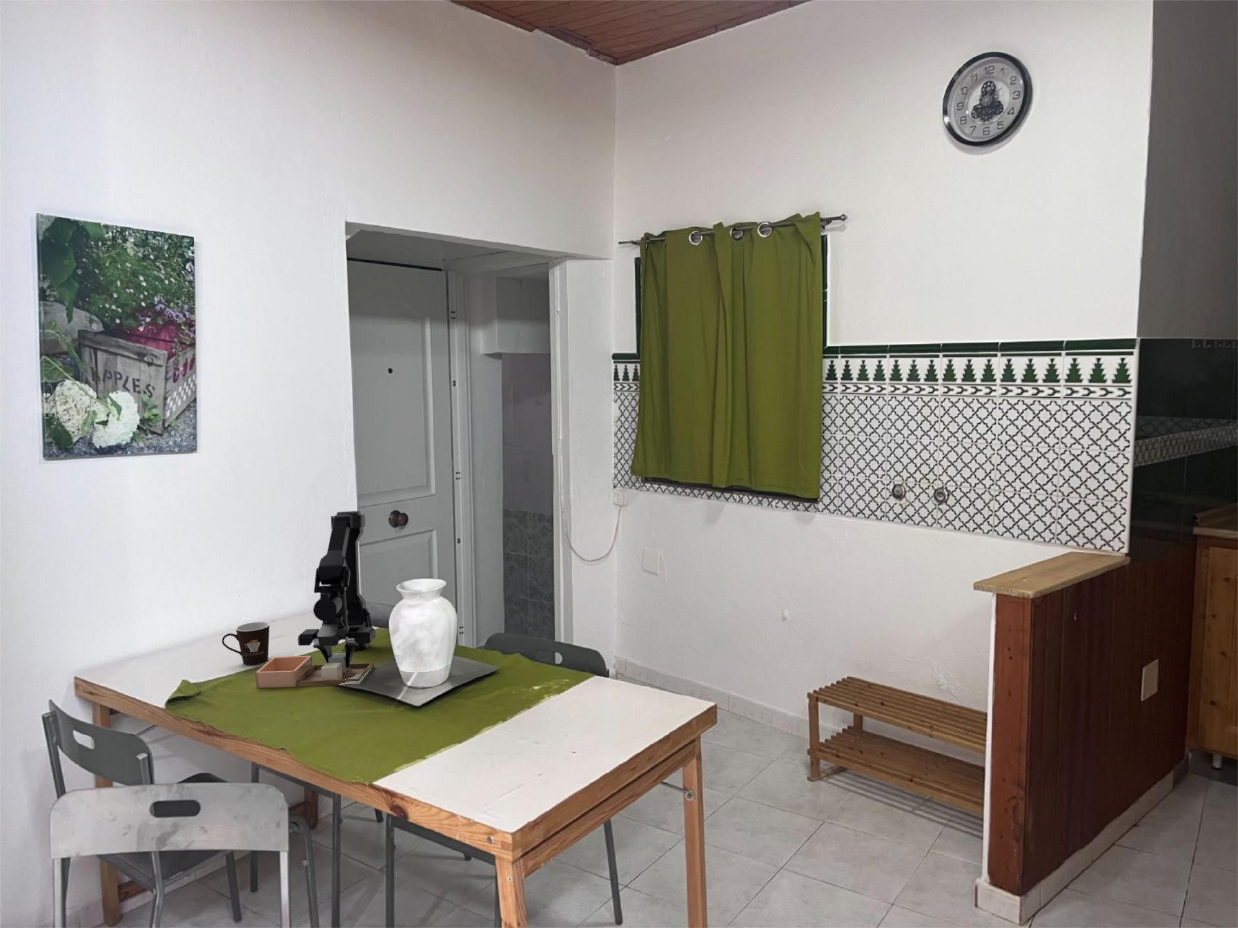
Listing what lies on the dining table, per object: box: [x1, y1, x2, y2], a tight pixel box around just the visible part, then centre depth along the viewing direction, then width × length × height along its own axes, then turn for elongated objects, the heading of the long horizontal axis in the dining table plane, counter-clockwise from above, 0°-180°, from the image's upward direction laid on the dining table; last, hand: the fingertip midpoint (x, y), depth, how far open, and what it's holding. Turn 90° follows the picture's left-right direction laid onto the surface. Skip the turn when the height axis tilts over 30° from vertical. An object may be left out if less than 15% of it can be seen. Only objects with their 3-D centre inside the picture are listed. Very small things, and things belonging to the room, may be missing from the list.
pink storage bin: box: [255, 655, 313, 689], centre depth 231 cm, size 12×10×4 cm
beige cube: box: [321, 662, 343, 680], centre depth 229 cm, size 4×4×4 cm
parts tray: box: [296, 662, 375, 688], centre depth 232 cm, size 13×16×2 cm
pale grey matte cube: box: [328, 652, 350, 673], centre depth 235 cm, size 4×4×4 cm
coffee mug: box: [221, 621, 270, 666], centre depth 248 cm, size 12×9×10 cm
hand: (339, 667), depth 235 cm, fingers closed on pale grey matte cube, 4 cm apart
